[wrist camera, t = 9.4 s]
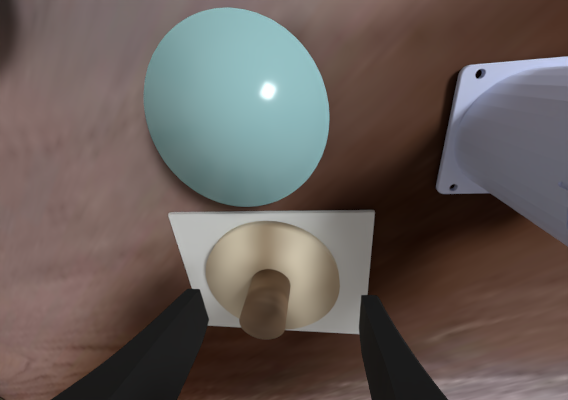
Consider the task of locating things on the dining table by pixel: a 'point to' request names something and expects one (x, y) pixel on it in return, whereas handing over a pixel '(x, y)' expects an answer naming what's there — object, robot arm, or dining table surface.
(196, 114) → the light blue flat disc
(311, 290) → the lid
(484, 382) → the dining table surface
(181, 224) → the mat
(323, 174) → the dining table surface
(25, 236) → the dining table surface
